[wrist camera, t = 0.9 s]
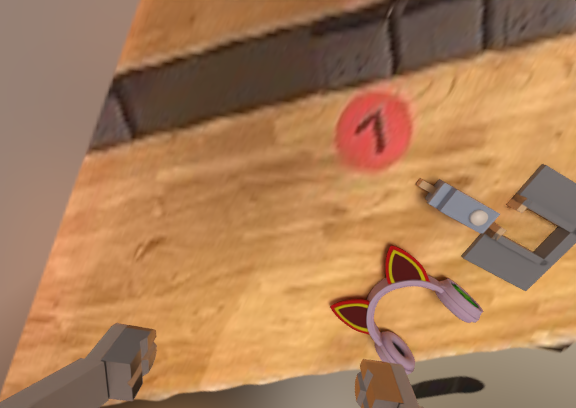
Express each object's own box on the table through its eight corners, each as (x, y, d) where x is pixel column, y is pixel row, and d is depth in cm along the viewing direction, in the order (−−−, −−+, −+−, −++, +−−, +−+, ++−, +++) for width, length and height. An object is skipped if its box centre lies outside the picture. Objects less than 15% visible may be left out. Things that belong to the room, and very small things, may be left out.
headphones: (412, 384, 56) (335, 346, 50) (392, 341, 64) (325, 305, 59) (494, 321, 49) (417, 270, 44) (460, 283, 58) (392, 236, 52)
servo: (424, 170, 48) (443, 182, 42) (482, 204, 50) (509, 219, 44) (410, 190, 50) (426, 204, 43) (467, 222, 51) (491, 240, 45)
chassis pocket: (542, 164, 47) (554, 167, 45) (608, 204, 49) (624, 210, 47) (461, 256, 54) (468, 263, 51) (522, 288, 56) (532, 297, 53)
